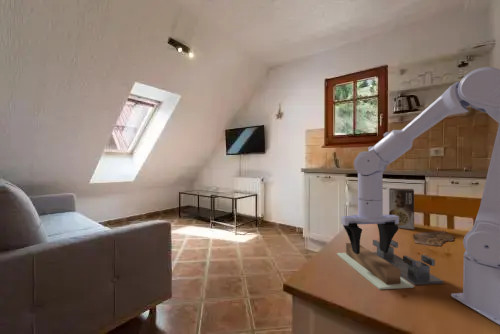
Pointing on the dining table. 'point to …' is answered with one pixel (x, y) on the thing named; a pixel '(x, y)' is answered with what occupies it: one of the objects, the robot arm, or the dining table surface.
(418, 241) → the wooden fragment
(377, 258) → the rail
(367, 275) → the mat
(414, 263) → the rack
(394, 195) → the coffee box
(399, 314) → the dining table surface
